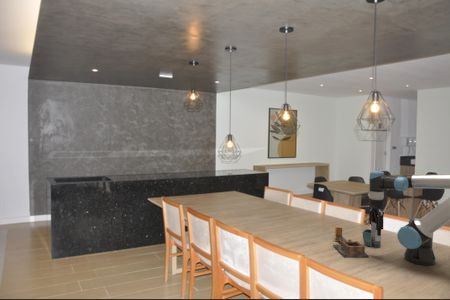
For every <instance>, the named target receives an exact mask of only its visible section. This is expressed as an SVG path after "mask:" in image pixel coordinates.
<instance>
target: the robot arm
mask: <svg viewBox="0 0 450 300" xmlns="http://www.w3.org/2000/svg"><path fill="white" fill-rule="evenodd" d="M368 180H369V181H368V182H369V184H368V185H369V192H368V195H369V199H368V204H369V206H371V207H368V211H369V212H368V213H369V221H368V222H369V225H371V222H372V221H376V229H375V230H376V238H375V241H382V230H384V214H385V212H384V211H382V207H384V205H385V203H384V202H385V201H384V198H385V190H391V191H392V190H393V191H398V192H401V191H402V192H406V191H407V190H408V189H433V190H435V189H436V190H437V189H439V190H450V174H406V173H404V174H400V175H394V176H393V175H385V172H384V171H381V170H379V171H376V170H375V171H374V170H372V171H370V172H369V179H368ZM449 223H450V196H449V197H448V198H447V199H445V200H444V201H442V202H441V203H440V204H438V205H437V206H436V207H434V208H433V209H432V210H430V211H429V212H427V213H425V215H423V216H422V217H421V218H418V217H417V218H415V217H411V218H409V220H408V223H407V224H405V225H404V226H402V227H400V228H399V229H398V231H397V241H398V242H399V243H400V245H402V246H403V247H404V248H406V250H405V251H404V255H403V257H404V260H406V261H407V262H409V263H412V264H416V265H421V266H433V265H435V264H436V263H437V261H436V257H435V253H434V249H433V244H434V242H433V241H434V238H433V237H434V233H435V232H437V231H439V230H440V229H441V228H443V227H444V226H445V225H447V224H449Z"/></svg>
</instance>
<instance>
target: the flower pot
mask: <svg viewBox="0 0 450 300" xmlns="http://www.w3.org/2000/svg"><path fill="white" fill-rule="evenodd" d="M362 239H363V242H364V244H365V246H368V247H371V229H367V228H366V229H364V230H363V231H362Z"/></svg>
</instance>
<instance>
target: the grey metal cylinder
mask: <svg viewBox="0 0 450 300" xmlns="http://www.w3.org/2000/svg"><path fill="white" fill-rule="evenodd" d="M375 229H376V221H372V222H371V224H370V230H371V246H370V247H371V248H374V249H380V248H382V247H381V246H382V243H381V241H382V240H381V241H375V238H376V230H375Z"/></svg>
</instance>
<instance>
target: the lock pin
mask: <svg viewBox="0 0 450 300" xmlns="http://www.w3.org/2000/svg"><path fill="white" fill-rule="evenodd" d="M342 239H344V240H345V241H348V240H347V239H346V238H345V237H344V236H343V227H341V226H335V227H334V241H335V242H341V241H342ZM348 246H351V244H348Z"/></svg>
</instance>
